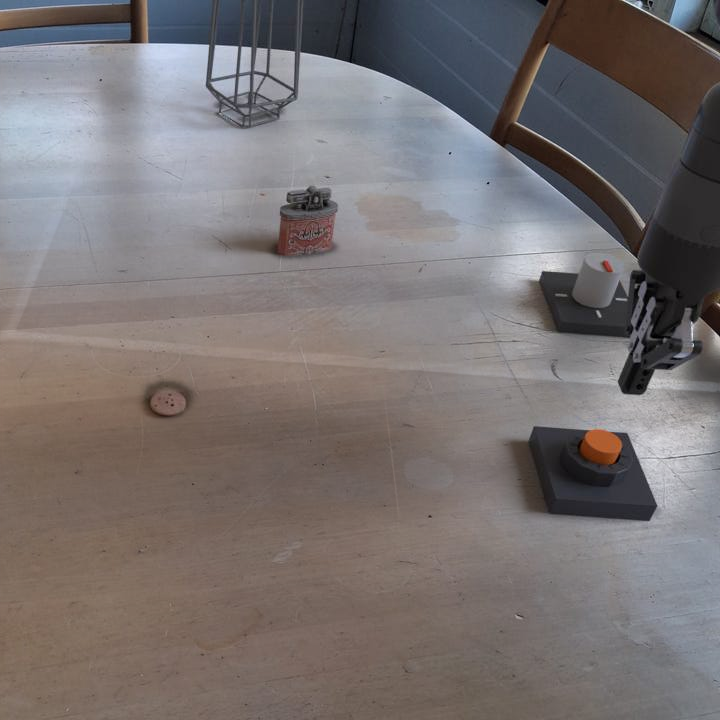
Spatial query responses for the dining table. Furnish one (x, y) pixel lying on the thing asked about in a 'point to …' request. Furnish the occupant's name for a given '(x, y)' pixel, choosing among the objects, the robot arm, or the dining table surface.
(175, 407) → the cookie
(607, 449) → the button
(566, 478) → the button block
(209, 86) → the geometric lantern
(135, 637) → the dining table surface
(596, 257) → the timer dial
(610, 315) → the dial panel
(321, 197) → the lighter
